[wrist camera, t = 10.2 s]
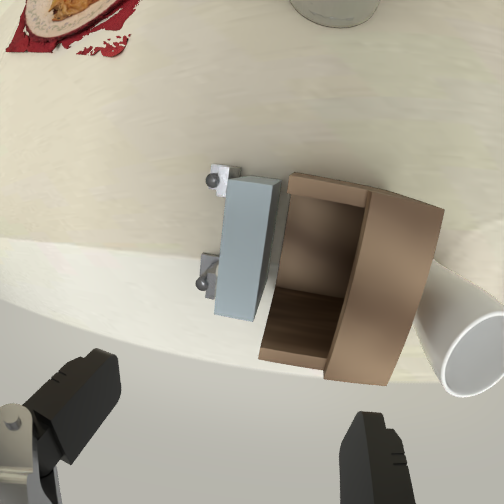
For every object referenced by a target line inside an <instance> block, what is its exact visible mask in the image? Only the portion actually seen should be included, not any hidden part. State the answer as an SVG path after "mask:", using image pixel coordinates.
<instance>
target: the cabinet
mask: <svg viewBox="0 0 504 504" xmlns="http://www.w3.org/2000/svg"><path fill="white" fill-rule="evenodd" d="M287 193H289V194H291V197H290V204H289V210H288V216H287V222H286V228H285V234H284V240H283V246H282V252H281V258H280V263H279V269H278V275H277V280H276V286H275V290H274V294H273V299H272V303H271V307H270V311H269V315H268V319H267V323H266V327H265V331H264V335H263V339H262V343H261V347H260V352H259V357H258V359H260V360H265V361H270V362H276V363H281V364H287V365H293V366H299V367H305V368H311V369H318V370H323V374H324V379H327V380H334V381H343V382H350V383H359V384H369V385H381V386H387V384H388V381H389V379H390V377H391V375H392V373H393V370H394V368H395V366H396V363H397V361H398V359H399V356H400V354H401V351H402V349H403V346H404V344H405V341H406V339H407V336H408V334H409V331H410V328H411V326H412V323H413V320H414V317H415V315H416V312H417V309H418V306H419V303H420V300H421V297H422V294H423V291H424V288H425V284H426V281H427V278H428V274H429V271H430V267H431V264H432V260H433V257H434V253H435V249H436V245H437V241H438V237H439V233H440V229H441V224H442V220H443V215H444V209H442V208H439V207H436V206H433V205H430V204H427V203H424V202H421V201H418V200H415V199H412V198H409V197H406V196H403V195H400V194H397V193H394V192H390V191H387V190H383V189H378V188H374V187H369V186H365V185H360V184H355V183H350V182H345V181H340V180H335V179H330V178H325V177H319V176H314V175H308V174H302V173H296V172H294V173H293V174H291V175H289V182H288V188H287Z"/></svg>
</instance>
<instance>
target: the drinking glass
mask: <svg viewBox="0 0 504 504" xmlns="http://www.w3.org/2000/svg"><path fill="white" fill-rule="evenodd" d="M412 324H413V326H414V329H415V331H416V334H417V336H418V339H419V341H420V344H421V346H422V349H423V351H424V353H425V355H426V357H427V359H428V361H429V363H430V365H431V367H432V369H433V371H434V372H435V374H436V376H437V377H438V379H439V381H440V382H441V384H442V386H443V387H444V389H445V390H446V391H447V392H448V393H449V394H451V395H453V396H457V397H470V396H474V395H477V394H479V393H482V392H484V391H486V390H487V389H489V388H490V387H492V386H493V385H494V384H496V383H497V382H498V381H499V380H500V379H501V378H502V377H503V376H504V305H503V304H502V303H501V302H500V301H498V300H497V299H496V298H495V297H494V296H492V295H491V294H490V293H488V292H487V291H486V290H484V289H483V288H481V287H479V286H478V285H476V284H474V283H473V282H471V281H469V280H467V279H466V278H464V277H462V276H460V275H459V274H457V273H455V272H453V271H452V270H450V269H448V268H446V267H445V266H443V265H441V264H440V263H438V262H437V261H436V260H434V259H433V260H432V264H431V267H430V271H429V274H428V278H427V281H426V284H425V288H424V291H423V294H422V297H421V300H420V303H419V306H418V309H417V312H416V315H415V317H414V320H413V323H412Z"/></svg>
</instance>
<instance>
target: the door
mask: <svg viewBox="0 0 504 504" xmlns="http://www.w3.org/2000/svg"><path fill="white" fill-rule="evenodd" d="M281 182H282V180H278V179H271V178H264V177H257V176H245V177H239V178H233V179H228V184H227V193H226V201H225V210H224V219H223V228H222V238H221V247H220V257H219V265H217V268H216V276H218V277H217V288H216V299H215V310H214V314H216V315H221V316H225V317H230V318H235V319H241V320H246V321H251V322H253V321H254V318H255V315H256V312H257V309H258V306H259V303H260V300H261V297H262V294H263V291H264V288H265V285H266V281H267V277H268V270H269V264H270V257H271V250H272V244H273V237H274V230H275V224H276V217H277V210H278V203H279V196H280V189H281Z"/></svg>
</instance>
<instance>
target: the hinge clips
mask: <svg viewBox="0 0 504 504" xmlns="http://www.w3.org/2000/svg"><path fill="white" fill-rule="evenodd" d="M240 174H241V167H234V166H227V165H218V164H211V172H210V174H209V175H208V176H207V178H206V184H207V185H208V186H209V189H215V190H217V191H216V196H220V197H226V193H227V184H228V179H233V178H239V177H240ZM219 257H220V256H217V255H211V254H206V253H202V255H201V266H200V277H199V278H198V279H197V281H196V287H197V288H198V289H199V290H201V291H205V290H206V296H205V298H209V299H215V297H216V288H217V277H218V276H216V268H217V265H219Z"/></svg>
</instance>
